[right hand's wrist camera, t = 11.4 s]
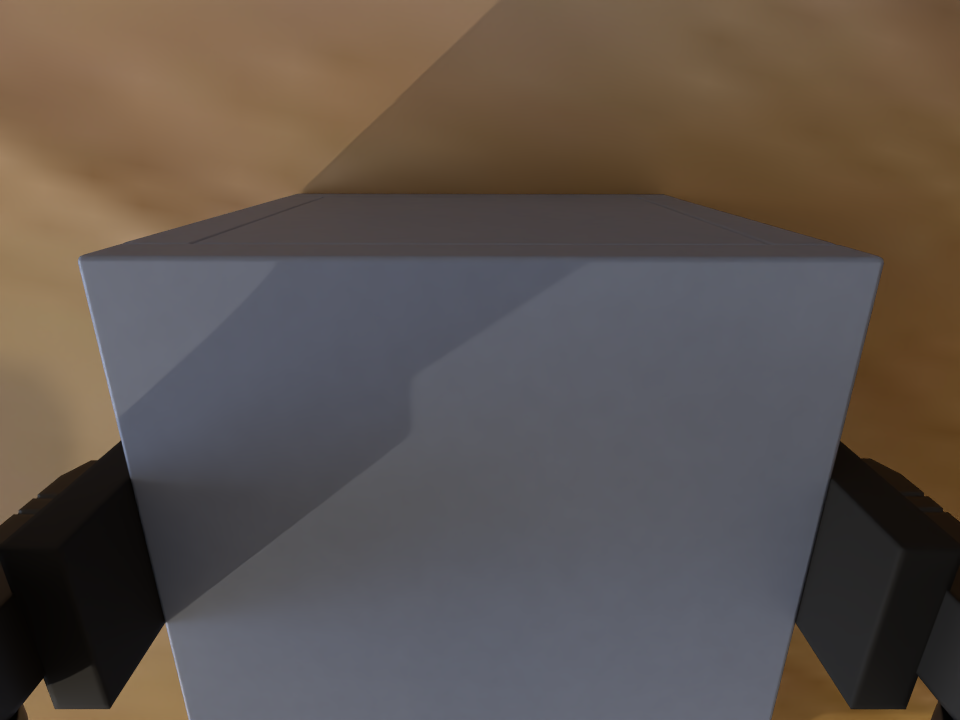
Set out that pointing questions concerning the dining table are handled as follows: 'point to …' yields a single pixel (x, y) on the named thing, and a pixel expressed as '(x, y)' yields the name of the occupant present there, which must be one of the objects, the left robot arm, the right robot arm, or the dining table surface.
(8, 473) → the dining table surface
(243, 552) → the cabinet
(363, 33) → the dining table surface
